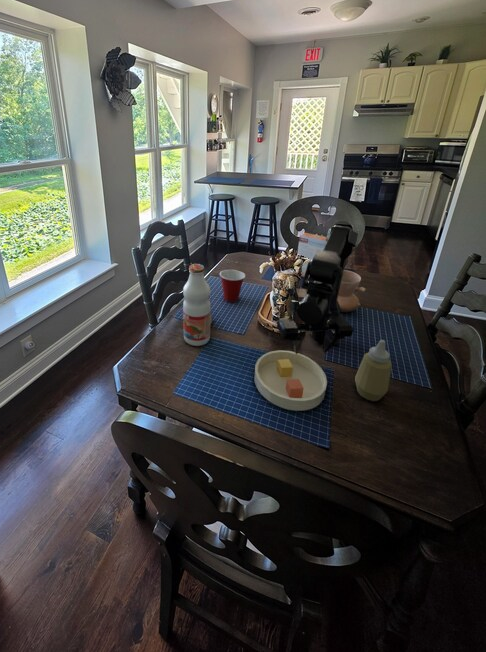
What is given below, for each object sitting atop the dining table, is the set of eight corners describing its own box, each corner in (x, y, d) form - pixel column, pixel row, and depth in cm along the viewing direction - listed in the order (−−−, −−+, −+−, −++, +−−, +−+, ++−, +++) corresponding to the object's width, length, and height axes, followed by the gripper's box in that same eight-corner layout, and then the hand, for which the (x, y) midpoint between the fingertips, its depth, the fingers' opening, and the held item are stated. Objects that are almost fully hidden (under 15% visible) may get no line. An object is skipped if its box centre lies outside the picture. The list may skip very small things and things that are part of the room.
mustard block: (287, 368, 99) (289, 359, 97) (291, 376, 95) (293, 367, 94) (276, 368, 99) (277, 359, 97) (280, 376, 95) (281, 367, 94)
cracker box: (327, 279, 153) (334, 238, 145) (322, 283, 149) (329, 241, 141) (299, 270, 162) (305, 231, 154) (294, 274, 158) (299, 234, 150)
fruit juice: (215, 340, 112) (217, 268, 101) (193, 350, 108) (192, 275, 97) (200, 327, 120) (200, 258, 109) (178, 335, 115) (176, 265, 104)
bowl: (308, 358, 103) (309, 348, 101) (337, 410, 85) (340, 398, 83) (247, 361, 102) (248, 351, 101) (264, 414, 84) (265, 402, 82)
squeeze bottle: (384, 409, 85) (400, 355, 78) (350, 397, 89) (363, 344, 82) (385, 389, 91) (401, 337, 84) (354, 378, 95) (366, 328, 88)
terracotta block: (297, 388, 91) (298, 378, 90) (302, 397, 88) (303, 388, 87) (285, 388, 91) (286, 379, 90) (289, 398, 88) (291, 388, 87)
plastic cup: (248, 296, 140) (249, 271, 135) (237, 307, 131) (239, 281, 127) (225, 290, 145) (226, 266, 141) (214, 300, 137) (214, 275, 132)
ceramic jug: (366, 306, 131) (373, 275, 125) (353, 321, 121) (360, 288, 116) (322, 291, 142) (327, 262, 137) (307, 304, 133) (312, 273, 127)
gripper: (338, 288, 91) (329, 333, 97) (273, 290, 91) (268, 336, 97) (359, 309, 81) (348, 358, 87) (286, 312, 80) (280, 361, 86)
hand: (310, 352), depth 90 cm, fingers open, 8 cm apart
